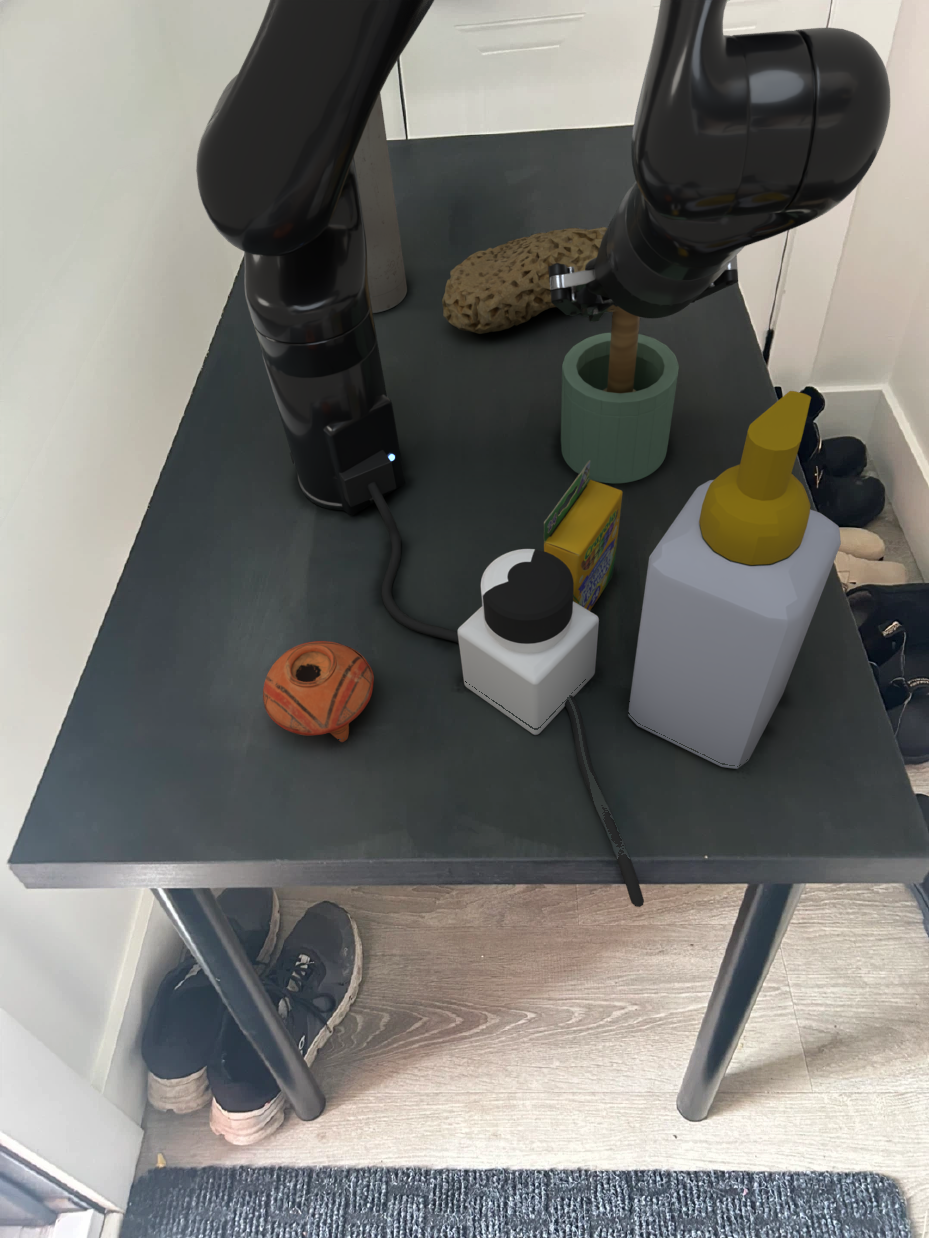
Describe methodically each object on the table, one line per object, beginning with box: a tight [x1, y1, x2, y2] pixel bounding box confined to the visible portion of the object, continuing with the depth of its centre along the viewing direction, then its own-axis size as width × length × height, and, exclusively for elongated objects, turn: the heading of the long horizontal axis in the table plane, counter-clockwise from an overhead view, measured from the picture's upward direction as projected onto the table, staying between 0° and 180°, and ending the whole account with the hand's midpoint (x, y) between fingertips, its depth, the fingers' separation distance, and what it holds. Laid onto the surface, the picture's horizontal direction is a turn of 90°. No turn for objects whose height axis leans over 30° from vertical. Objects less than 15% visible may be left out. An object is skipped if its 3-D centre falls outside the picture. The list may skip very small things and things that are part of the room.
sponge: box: [441, 226, 608, 335], centre depth 93 cm, size 13×8×20 cm
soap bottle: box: [627, 390, 842, 770], centre depth 54 cm, size 9×9×25 cm
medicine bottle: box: [457, 548, 600, 736], centre depth 62 cm, size 7×7×12 cm
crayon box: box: [543, 460, 624, 612], centre depth 66 cm, size 7×3×12 cm, turn 149°
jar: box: [560, 332, 680, 484], centre depth 78 cm, size 10×10×9 cm
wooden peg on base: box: [603, 309, 641, 393], centre depth 74 cm, size 4×4×17 cm
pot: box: [262, 640, 375, 743], centre depth 64 cm, size 8×8×7 cm
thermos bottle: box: [354, 93, 408, 314], centre depth 89 cm, size 8×8×28 cm
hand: (619, 305), depth 72 cm, fingers open, 4 cm apart
